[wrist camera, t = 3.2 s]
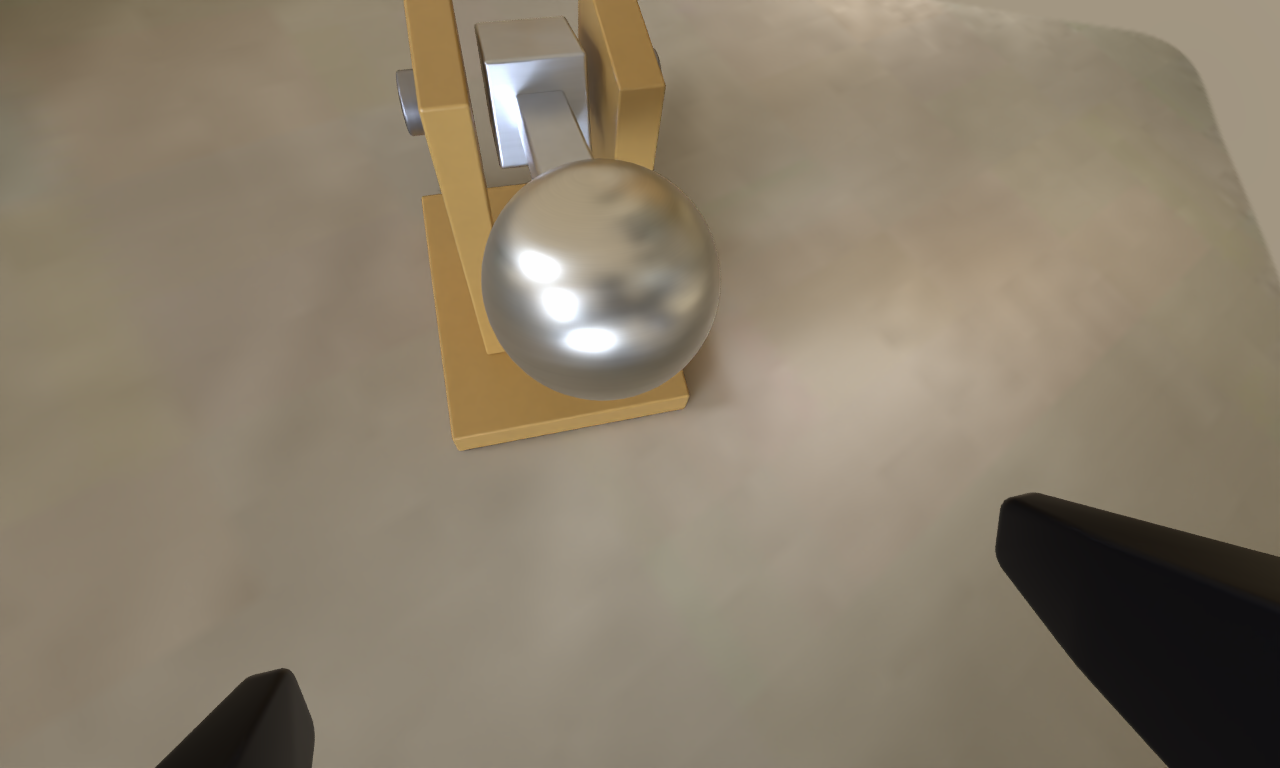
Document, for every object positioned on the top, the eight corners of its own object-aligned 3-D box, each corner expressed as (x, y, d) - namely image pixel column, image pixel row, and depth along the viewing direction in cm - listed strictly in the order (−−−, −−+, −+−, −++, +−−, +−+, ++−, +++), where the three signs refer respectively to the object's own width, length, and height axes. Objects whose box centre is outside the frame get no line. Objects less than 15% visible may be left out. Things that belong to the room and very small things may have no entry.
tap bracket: (685, 409, 23) (776, 181, 13) (458, 452, 22) (344, 238, 11) (624, 190, 27) (654, -127, 16) (427, 215, 26) (320, -112, 15)
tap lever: (742, 424, 10) (774, 221, 8) (513, 470, 10) (466, 265, 7) (599, 132, 18) (592, -16, 16) (467, 147, 17) (437, -5, 15)
